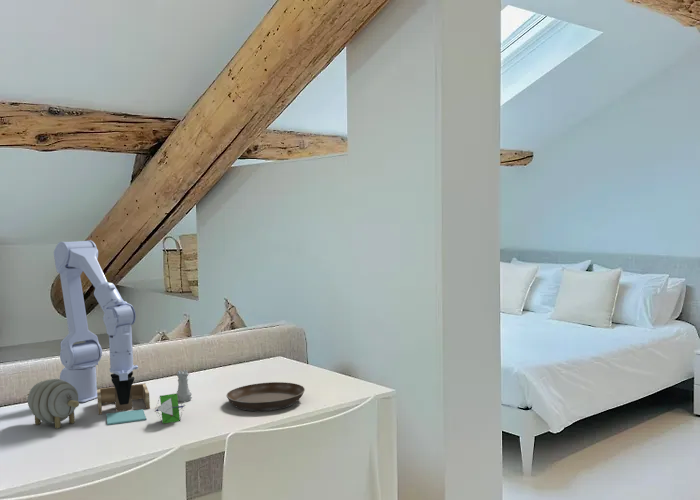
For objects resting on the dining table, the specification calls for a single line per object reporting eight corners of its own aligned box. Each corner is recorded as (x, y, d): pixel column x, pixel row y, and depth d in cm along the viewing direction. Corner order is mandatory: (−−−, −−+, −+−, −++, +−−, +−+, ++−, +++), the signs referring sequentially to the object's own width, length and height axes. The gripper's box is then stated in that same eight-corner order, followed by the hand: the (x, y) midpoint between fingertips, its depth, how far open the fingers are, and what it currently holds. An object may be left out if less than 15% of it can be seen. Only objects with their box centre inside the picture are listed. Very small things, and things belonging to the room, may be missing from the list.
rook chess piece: (187, 402, 182) (186, 373, 181) (172, 402, 183) (171, 372, 182) (194, 398, 186) (193, 369, 186) (179, 397, 187) (178, 369, 187)
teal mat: (106, 415, 172) (106, 413, 172) (143, 410, 175) (143, 409, 175) (107, 425, 163) (107, 423, 163) (146, 419, 167) (146, 418, 167)
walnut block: (115, 407, 179) (114, 383, 179) (131, 405, 181) (130, 381, 180) (116, 411, 176) (115, 386, 175) (132, 409, 177) (131, 384, 177)
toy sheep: (48, 415, 174) (46, 372, 173) (98, 421, 167) (95, 377, 166) (13, 427, 164) (10, 382, 164) (63, 434, 157) (61, 387, 157)
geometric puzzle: (152, 409, 168) (154, 388, 164) (180, 405, 171) (182, 384, 167) (156, 432, 163) (158, 411, 159) (185, 428, 166) (188, 407, 162)
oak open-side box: (97, 403, 184) (97, 388, 183) (145, 397, 188) (145, 383, 188) (98, 414, 173) (97, 399, 172) (149, 408, 177) (149, 393, 177)
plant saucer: (210, 410, 175) (210, 397, 175) (255, 390, 193) (254, 379, 193) (279, 418, 166) (278, 404, 166) (318, 396, 185) (318, 384, 184)
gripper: (139, 354, 172) (141, 406, 173) (135, 344, 186) (137, 393, 186) (109, 357, 170) (112, 410, 170) (107, 347, 183) (110, 396, 184)
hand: (123, 402), depth 178 cm, fingers closed on walnut block, 4 cm apart
